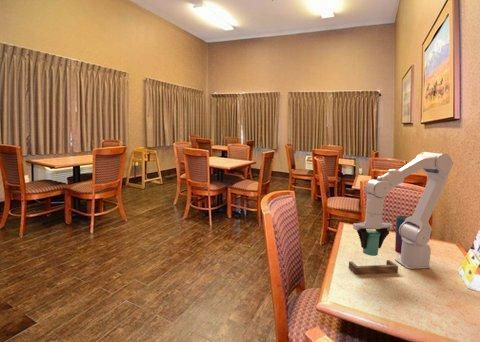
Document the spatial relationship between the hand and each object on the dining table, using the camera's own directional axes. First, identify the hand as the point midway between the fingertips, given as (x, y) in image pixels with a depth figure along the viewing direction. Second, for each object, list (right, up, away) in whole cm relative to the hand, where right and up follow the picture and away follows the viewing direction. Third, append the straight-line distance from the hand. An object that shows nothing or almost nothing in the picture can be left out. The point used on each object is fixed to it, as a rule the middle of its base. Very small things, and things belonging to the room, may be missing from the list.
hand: (370, 247), depth 110 cm
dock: (0, -8, -1) cm, 8 cm away
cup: (+21, -6, +17) cm, 28 cm away
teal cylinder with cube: (0, -2, +1) cm, 2 cm away
